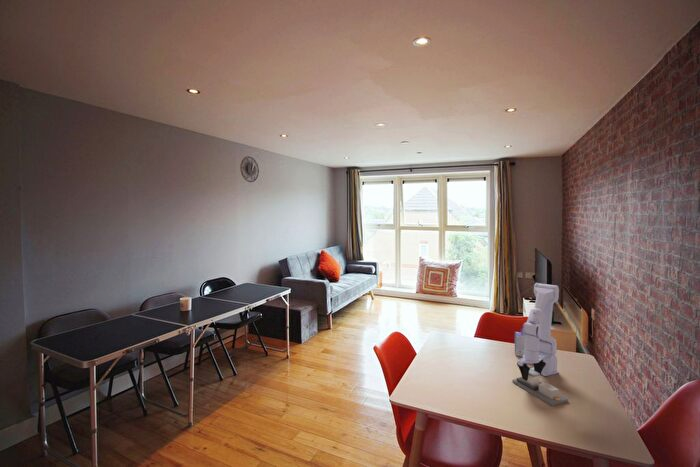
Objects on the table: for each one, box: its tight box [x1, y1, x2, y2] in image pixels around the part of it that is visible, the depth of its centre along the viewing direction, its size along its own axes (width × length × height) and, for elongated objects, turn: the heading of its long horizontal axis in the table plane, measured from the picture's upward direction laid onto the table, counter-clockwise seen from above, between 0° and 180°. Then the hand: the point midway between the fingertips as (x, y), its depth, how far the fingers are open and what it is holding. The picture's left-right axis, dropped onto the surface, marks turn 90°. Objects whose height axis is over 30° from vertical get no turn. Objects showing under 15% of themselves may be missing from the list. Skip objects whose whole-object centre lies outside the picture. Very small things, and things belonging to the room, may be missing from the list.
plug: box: [522, 368, 541, 387], centre depth 143 cm, size 4×6×6 cm, turn 20°
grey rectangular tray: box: [512, 376, 569, 407], centre depth 139 cm, size 9×20×5 cm, turn 20°
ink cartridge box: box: [514, 327, 525, 357], centre depth 175 cm, size 10×6×14 cm, turn 72°
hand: (531, 378), depth 143 cm, fingers open, 7 cm apart
